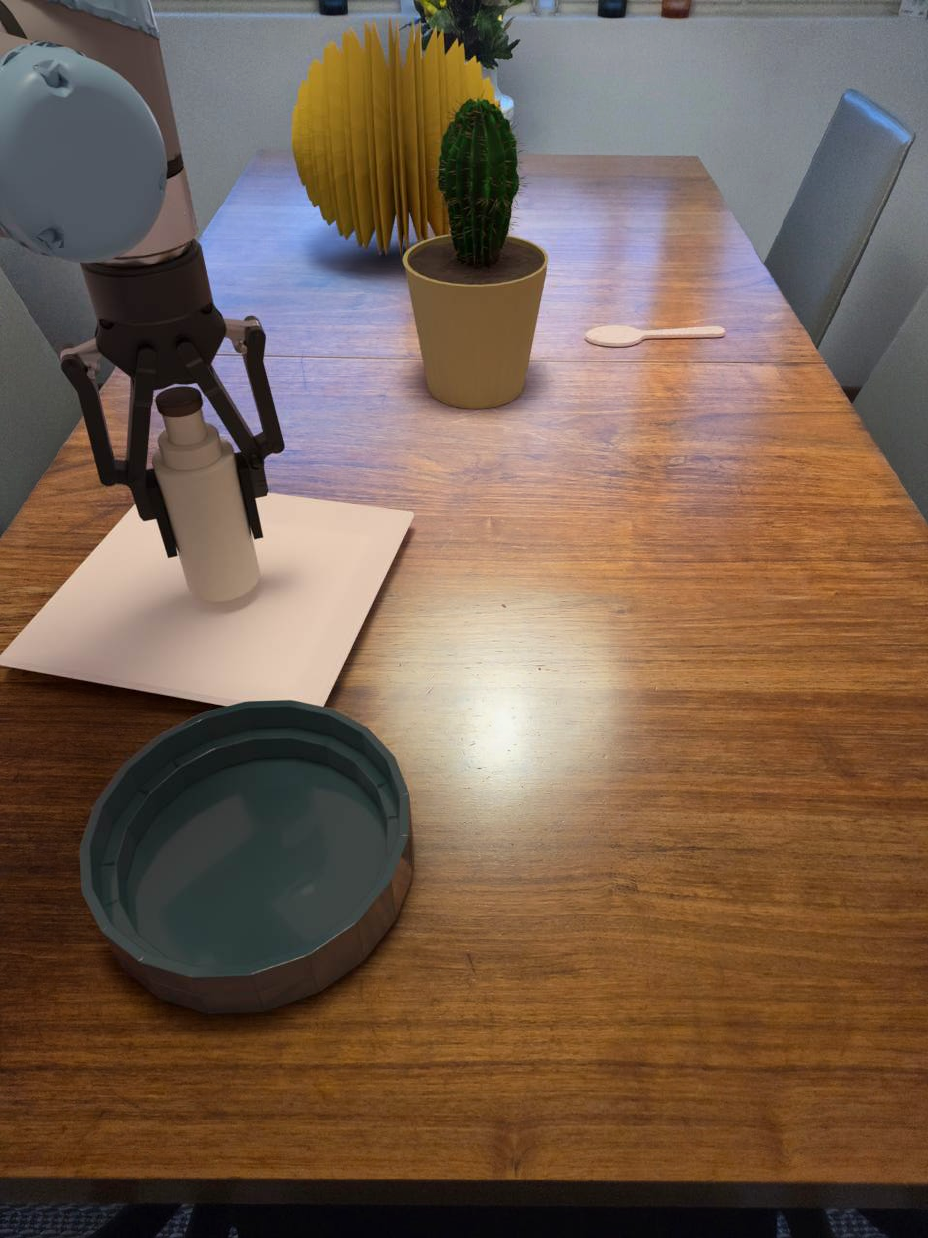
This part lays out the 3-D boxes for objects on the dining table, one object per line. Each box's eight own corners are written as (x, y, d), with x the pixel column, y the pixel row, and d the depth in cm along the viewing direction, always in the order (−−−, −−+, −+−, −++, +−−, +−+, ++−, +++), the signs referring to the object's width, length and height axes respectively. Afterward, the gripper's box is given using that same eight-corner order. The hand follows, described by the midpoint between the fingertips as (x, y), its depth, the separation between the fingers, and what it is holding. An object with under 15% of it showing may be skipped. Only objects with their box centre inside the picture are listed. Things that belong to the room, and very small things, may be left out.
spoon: (730, 341, 110) (731, 337, 110) (589, 347, 109) (589, 343, 109) (718, 323, 114) (718, 319, 114) (581, 329, 113) (581, 325, 113)
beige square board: (319, 738, 63) (315, 719, 62) (1, 680, 68) (-9, 661, 66) (416, 528, 82) (415, 509, 81) (162, 493, 87) (157, 475, 85)
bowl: (114, 1069, 47) (86, 1030, 43) (97, 792, 60) (74, 745, 57) (454, 951, 51) (453, 907, 48) (368, 718, 65) (362, 671, 61)
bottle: (192, 608, 71) (138, 424, 59) (183, 565, 75) (131, 384, 63) (266, 591, 72) (227, 408, 61) (253, 550, 76) (214, 371, 65)
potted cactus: (397, 364, 106) (379, 80, 86) (517, 348, 109) (527, 70, 89) (426, 427, 95) (414, 118, 75) (559, 407, 98) (582, 105, 78)
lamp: (510, 287, 124) (517, 33, 103) (297, 293, 123) (261, 38, 103) (496, 216, 146) (499, -4, 125) (315, 221, 145) (289, -1, 125)
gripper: (278, 207, 60) (319, 489, 76) (-22, 244, 55) (88, 537, 71) (301, 244, 55) (340, 539, 70) (-27, 288, 50) (93, 593, 66)
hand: (213, 537), depth 71 cm, fingers open, 6 cm apart
